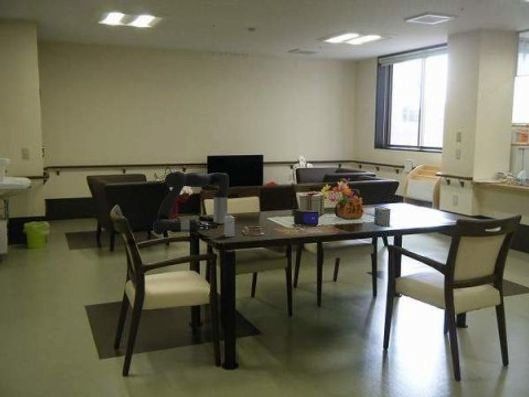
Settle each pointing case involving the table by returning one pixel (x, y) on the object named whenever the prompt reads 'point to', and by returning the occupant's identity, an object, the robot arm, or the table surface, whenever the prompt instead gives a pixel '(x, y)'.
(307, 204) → the gift box
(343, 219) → the table surface
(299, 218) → the black and blue box
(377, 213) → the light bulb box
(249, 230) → the chassis board
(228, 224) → the servo block
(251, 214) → the table surface
